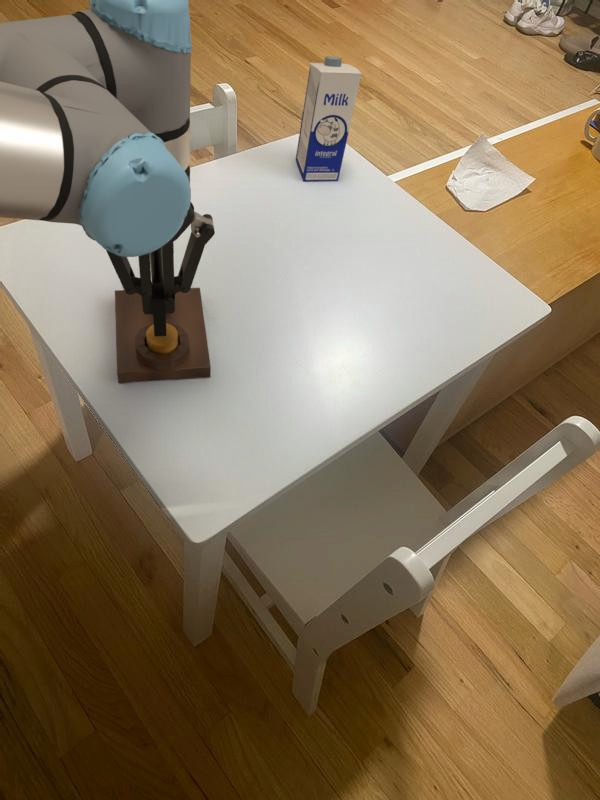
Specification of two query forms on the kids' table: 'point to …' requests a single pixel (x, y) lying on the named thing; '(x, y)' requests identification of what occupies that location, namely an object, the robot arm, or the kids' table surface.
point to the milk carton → (326, 119)
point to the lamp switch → (162, 340)
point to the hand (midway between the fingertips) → (159, 328)
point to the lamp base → (149, 366)
